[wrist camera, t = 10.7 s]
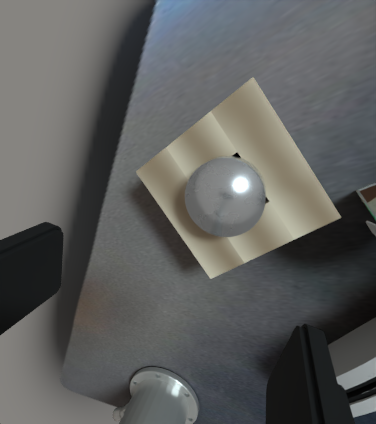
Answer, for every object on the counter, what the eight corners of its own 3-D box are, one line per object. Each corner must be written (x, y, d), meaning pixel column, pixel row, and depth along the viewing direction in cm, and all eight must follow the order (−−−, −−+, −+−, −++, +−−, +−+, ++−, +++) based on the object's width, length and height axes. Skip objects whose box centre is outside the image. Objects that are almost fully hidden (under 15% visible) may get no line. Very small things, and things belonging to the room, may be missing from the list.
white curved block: (330, 385, 34) (323, 448, 26) (303, 353, 36) (289, 403, 27) (458, 322, 27) (508, 379, 19) (418, 285, 29) (446, 323, 20)
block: (220, 254, 33) (210, 279, 28) (158, 164, 32) (135, 171, 26) (327, 199, 27) (341, 217, 22) (257, 87, 26) (253, 76, 21)
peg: (226, 221, 31) (212, 249, 24) (194, 173, 30) (170, 187, 23) (279, 191, 28) (282, 212, 21) (244, 137, 27) (234, 141, 20)
